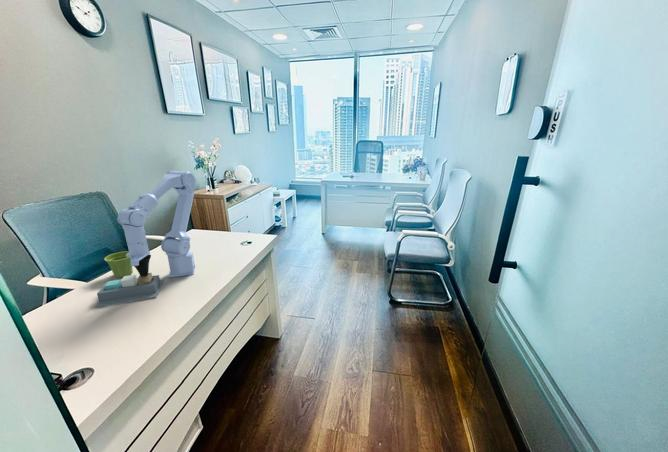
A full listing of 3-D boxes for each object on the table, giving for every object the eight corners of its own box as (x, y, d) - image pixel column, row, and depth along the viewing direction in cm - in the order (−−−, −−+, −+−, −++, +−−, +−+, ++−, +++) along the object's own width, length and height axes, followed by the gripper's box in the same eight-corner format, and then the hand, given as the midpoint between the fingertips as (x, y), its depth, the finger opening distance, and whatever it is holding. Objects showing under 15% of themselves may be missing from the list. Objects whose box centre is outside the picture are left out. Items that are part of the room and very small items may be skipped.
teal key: (122, 287, 98) (120, 279, 97) (119, 292, 95) (116, 284, 94) (110, 289, 97) (108, 281, 96) (106, 294, 94) (104, 286, 93)
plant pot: (122, 281, 106) (117, 262, 104) (103, 278, 108) (98, 259, 105) (142, 270, 115) (138, 252, 112) (124, 268, 117) (120, 250, 114)
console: (163, 280, 108) (161, 272, 106) (156, 297, 96) (154, 288, 95) (109, 288, 101) (106, 279, 100) (94, 307, 90) (91, 297, 88)
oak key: (153, 280, 102) (151, 272, 101) (150, 285, 99) (149, 277, 98) (142, 282, 100) (140, 274, 99) (139, 286, 97) (137, 278, 96)
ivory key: (137, 282, 100) (135, 274, 99) (134, 287, 97) (132, 279, 96) (126, 284, 99) (124, 276, 98) (123, 289, 95) (120, 280, 94)
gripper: (129, 236, 99) (137, 268, 103) (116, 250, 86) (125, 286, 91) (151, 234, 102) (158, 265, 106) (141, 247, 89) (149, 283, 93)
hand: (144, 275), depth 98 cm, fingers closed
